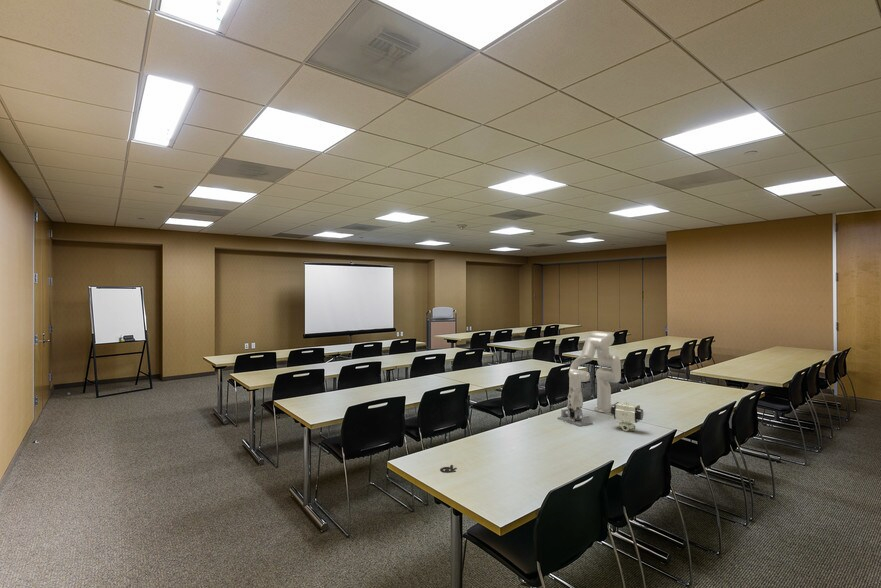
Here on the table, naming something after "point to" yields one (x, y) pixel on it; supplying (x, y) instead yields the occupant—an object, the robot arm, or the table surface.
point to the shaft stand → (581, 422)
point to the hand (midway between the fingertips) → (574, 416)
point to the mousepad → (448, 469)
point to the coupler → (576, 413)
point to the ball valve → (627, 414)
